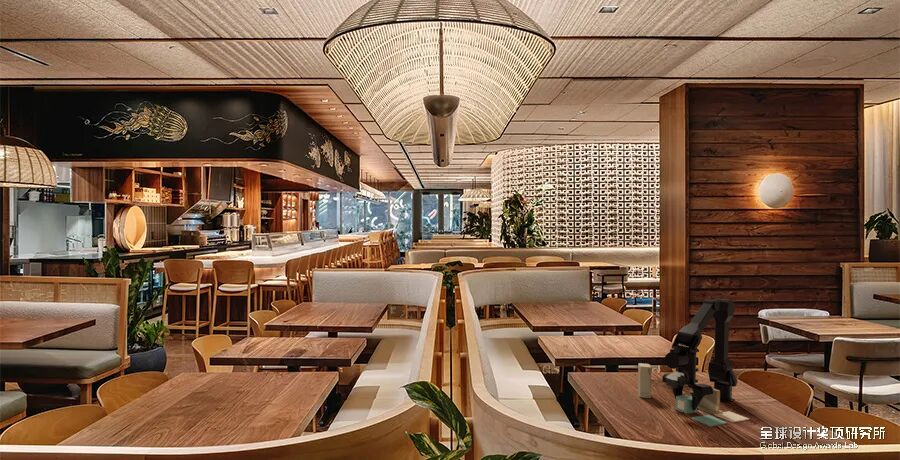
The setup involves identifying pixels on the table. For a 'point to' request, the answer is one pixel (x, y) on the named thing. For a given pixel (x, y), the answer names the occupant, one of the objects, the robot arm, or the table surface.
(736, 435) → the table surface
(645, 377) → the skincare box
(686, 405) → the cube
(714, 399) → the screen
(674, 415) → the table surface
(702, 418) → the teal coaster
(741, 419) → the ivory coaster
